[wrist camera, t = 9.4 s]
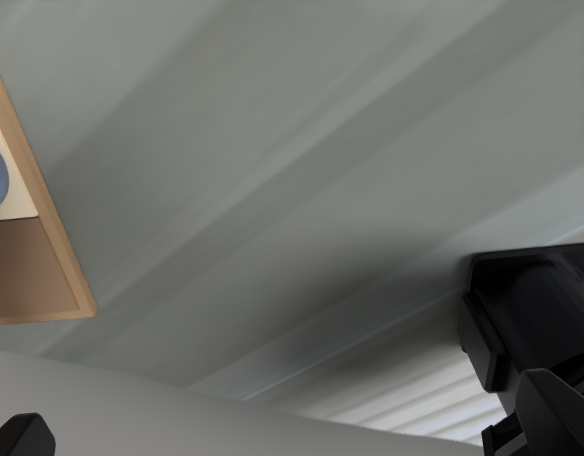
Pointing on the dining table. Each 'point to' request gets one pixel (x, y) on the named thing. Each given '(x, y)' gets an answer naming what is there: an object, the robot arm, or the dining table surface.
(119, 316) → the dining table surface
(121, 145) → the dining table surface
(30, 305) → the board
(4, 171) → the pawn
